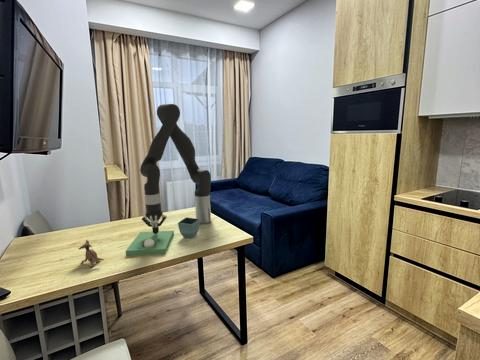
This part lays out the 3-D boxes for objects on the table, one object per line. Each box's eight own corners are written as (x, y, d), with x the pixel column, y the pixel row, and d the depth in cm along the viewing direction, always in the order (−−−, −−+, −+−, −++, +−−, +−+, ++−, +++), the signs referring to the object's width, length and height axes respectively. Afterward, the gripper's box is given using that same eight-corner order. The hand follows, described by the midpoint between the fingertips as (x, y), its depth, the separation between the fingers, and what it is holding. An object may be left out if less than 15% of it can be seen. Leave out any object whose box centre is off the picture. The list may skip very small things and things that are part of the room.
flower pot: (193, 240, 132) (192, 224, 130) (178, 238, 135) (177, 222, 133) (200, 234, 140) (200, 218, 138) (186, 232, 143) (186, 217, 141)
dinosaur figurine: (76, 261, 112) (73, 242, 110) (90, 256, 117) (87, 237, 115) (92, 270, 105) (89, 250, 103) (106, 264, 110) (104, 244, 108)
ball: (152, 248, 120) (155, 249, 124) (153, 237, 121) (156, 238, 126) (142, 249, 119) (145, 249, 124) (142, 238, 121) (145, 239, 125)
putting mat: (174, 234, 140) (173, 230, 139) (165, 253, 118) (165, 248, 118) (140, 236, 138) (140, 231, 138) (126, 255, 117) (125, 250, 116)
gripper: (167, 199, 134) (169, 229, 138) (141, 200, 133) (145, 231, 137) (164, 203, 127) (167, 235, 131) (137, 204, 126) (141, 237, 129)
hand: (155, 233), depth 134 cm, fingers closed
